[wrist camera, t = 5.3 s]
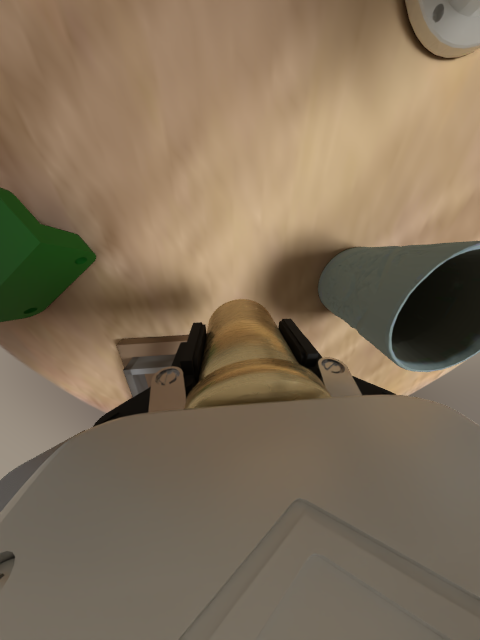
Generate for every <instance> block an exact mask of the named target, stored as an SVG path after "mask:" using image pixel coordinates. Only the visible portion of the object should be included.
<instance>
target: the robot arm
mask: <svg viewBox="0 0 480 640" xmlns="http://www.w3.org/2000/svg"><path fill="white" fill-rule="evenodd" d="M405 2H406V7H407V11H408V16H409V20H410V23H411V25H412V27H413V30H414V32H415V34H416V36H417V37H418V39H419V40H420V42H421V43H422V44H423V46H424V47H425V48H427V49H428V50H429V51H431V52H432V53H433V54H435V55H438V56H442V57H445V58H452V57H461V56H463V55H466V54H469V53H472V52H474V51H475V50H477V49H479V48H480V0H405ZM278 329H279V331H280V332H281V334H282V336H283V338H284V339H285V341H286V343H287V344H288V346H289V348H290V350H291V351H292V353H293V355H294V356H295V358H296V360H297V362H298V363H299V364H300V365H302V366H304V367H306V368H307V369H309V370H310V371H312V372H313V373H314V374H316V376H317V377H318V378H319V379H320V380H321V382H322V383H323V385H324V386H325V388H326V389H327V390H328V392H329V393H330V395H331V396H332V397H330V398H316V399H302V400H289V401H275V402H262V403H249V404H237V405H225V406H213V407H200V408H188V409H184V408H185V403H186V398H187V396H188V394H189V393H190V391H191V390H192V389H193V387H194V386H195V385H196V384H197V383H198V381H199V375H200V369H201V364H202V358H203V352H204V346H205V341H206V327H205V325H202V323H193V325H192V328H191V331H190V334H189V337H188V340H187V342H181V343H180V345H179V348H178V350H177V353H176V355H175V358H174V360H173V363H172V365H171V367H166V368H163V369H161V370H159V371H158V372H157V373H155V375H154V376H153V377H152V381H151V387H149V388H148V389H146V390H144V391H143V392H141V393H139V394H138V395H136V396H134V397H133V398H131V399H129V400H128V401H126V402H124V403H123V404H121V405H120V406H118V407H116V408H115V409H113V410H111V411H110V412H108V413H106V414H105V415H104V416H102V417H101V418H100V419H99V420H98V421H97V422H96V423H95V425H94V426H93V427H92V428H90V429H88V430H86V431H85V430H84V431H82V432H80V433H78V434H77V435H75V436H73V437H71V438H69V439H67V440H66V441H64V442H62V443H60V444H58V445H56V446H55V447H53V448H51V449H49V450H47V451H46V452H44V453H42V454H40V455H38V456H36V457H35V458H33V459H31V460H29V461H27V462H25V463H24V464H22V465H20V466H18V467H17V468H15V469H14V470H12V471H11V472H9V473H8V474H7V475H6V476H5V477H3V478H2V479H1V480H0V640H480V426H479V425H478V424H476V423H475V422H473V421H472V420H470V419H469V418H467V417H466V416H464V415H462V414H461V413H459V412H458V411H456V410H454V409H452V408H450V407H448V406H446V405H443V404H440V403H437V402H434V401H429V400H426V399H421V398H417V397H411V396H403V395H396V394H394V393H392V392H390V391H388V390H385V389H383V388H380V387H378V386H375V385H373V384H371V383H368V382H366V381H363V380H361V379H358V378H356V377H354V376H352V375H351V373H350V371H349V369H348V367H347V366H346V365H345V364H344V363H343V362H341V361H339V360H337V359H334V358H330V357H324V358H322V356H321V355H320V354H319V353H318V351H317V350H316V349H315V348H314V346H313V345H312V344H311V343H310V342H309V340H308V339H307V338H306V337H305V336H304V335H303V333H302V332H301V331H300V330H299V328H298V327H297V326H296V325H295V323H294V322H293V321H292V320H291V319H282V321H280V322H279V328H278Z"/></svg>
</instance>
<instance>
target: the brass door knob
mask: <svg viewBox="0 0 480 640" xmlns="http://www.w3.org/2000/svg"><path fill="white" fill-rule="evenodd" d="M330 397H332V396H331V395H330V393H329V392H328V390H327V389H326V388H325V386H324V385H323V383H322V382H321V380H320V379H319V378H318V377H317V376H316V374H314V373H313V372H312V371H310V370H309V369H307V368H306V367H304V366H302V365H300V364H299V363H298V362H297V360H296V358H295V356H294V355H293V353H292V351H291V350H290V348H289V346H288V344H287V343H286V341H285V339H284V338H283V336H282V334H281V332H280V331H279V329H278V327H277V326H276V324H275V322H274V320H273V319H272V317H271V315H270V314H269V312H268V311H267V310H266V309H265V308H264V307H263V306H262V305H260V304H259V303H257V302H255V301H251V300H246V299H239V300H233V301H230V302H227V303H225V304H223V305H222V306H220V307H219V308H218V309H217V310H216V311H215V312H214V313H213V315H212V316H211V318H210V320H209V324H208V329H207V335H206V341H205V346H204V352H203V358H202V364H201V369H200V375H199V381H198V383H197V384H196V385H195V386H194V387H193V389H192V390H191V391H190V393H189V394H188V396H187V398H186V403H185V408H184V409H188V408H200V407H213V406H225V405H237V404H249V403H262V402H275V401H289V400H302V399H316V398H330Z"/></svg>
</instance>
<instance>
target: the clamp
mask: <svg viewBox="0 0 480 640" xmlns="http://www.w3.org/2000/svg"><path fill="white" fill-rule="evenodd" d="M95 259H96V255H95V253H94V252H93V251H92V250H91V249H90V248H89V247H88V245H87V244H86V243H85V242H84V241H83V240H82V238H81V237H80V236H79V235H77V234H74V233H71V232H67V231H63V230H60V229H56V228H53V227H49V226H45V225H42V224H40V223H39V222H38V221H37V220H36V219H35V217H34V216H33V215H32V214H31V213H30V212H29V211H28V210H27V209H26V207H25V206H24V205H23V204H22V203H21V202H20V201H19V200H18V199H17V197H16V196H15V195H14V194H13V193H11V192H10V191H8V190H5V189H3V188H0V322H4V321H10V320H16V319H22V318H27V317H30V316H33V315H36V314H38V313H40V312H42V311H43V310H45V309H46V308H47V307H48V306H49V305H50V304H51V303H52V302H53V301H54V300H55V299H56V298H57V297H58V296H59V295H60V294H61V293H62V292H63V291H64V290H65V289H66V288H67V287H68V286H69V285H70V284H72V283H73V282H74V281H75V280H76V279H77V278H78V277H79V276H80V275H81V274H82V273H83V272H84V271H85V270H86V269H87V268H88V267H89V266H90V265H91V264H92V263H93V262H94V261H95Z"/></svg>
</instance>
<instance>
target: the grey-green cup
mask: <svg viewBox="0 0 480 640" xmlns="http://www.w3.org/2000/svg"><path fill="white" fill-rule="evenodd" d="M318 293H319V297H320V300H321V302H322V303H323V304H324V306H325V307H326V308H328V309H329V310H330V311H331V312H332V313H334V314H335V315H336V316H338V317H340V318H341V319H343V320H344V321H345V322H347V323H348V324H349V325H350V326H351V327H352V328H355V329H357V331H358V333H359V334H360V335H361V336H363V337H364V338H365V339H366V340H368V341H369V342H370V343H371V344H372V345H374V346H375V347H376V348H377V349H378V350H380V351H381V352H382V353H383V354H384V355H386V356H387V357H388V358H389V359H390V360H392V361H393V362H394V363H395V364H396V365H398V366H400V367H401V368H404V369H406V370H410V371H418V372H430V371H436V370H442V369H445V368H448V367H451V366H454V365H456V364H459V363H461V362H463V361H465V360H467V359H469V358H470V357H472V356H474V355H475V354H477V353H478V352H480V241H470V242H454V243H440V244H430V245H410V246H402V247H400V246H388V247H355V248H351V249H348V250H345V251H343V252H341V253H339V254H338V255H336V256H335V257H334V258H333V259H332V260H331V261H330V262H329V263H328V264H327V265H326V267H325V268H324V270H323V272H322V274H321V276H320V279H319V284H318Z"/></svg>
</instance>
